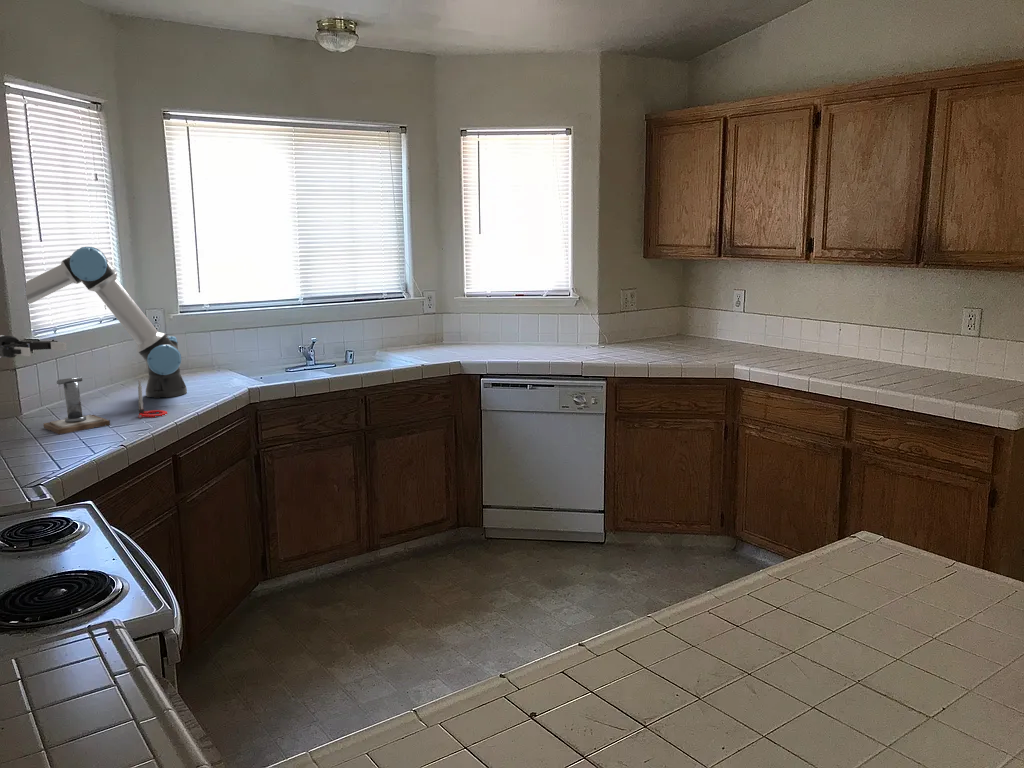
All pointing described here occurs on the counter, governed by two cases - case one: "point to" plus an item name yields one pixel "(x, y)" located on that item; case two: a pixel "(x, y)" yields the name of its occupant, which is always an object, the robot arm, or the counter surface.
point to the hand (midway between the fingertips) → (47, 349)
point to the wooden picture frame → (76, 424)
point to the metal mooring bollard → (72, 399)
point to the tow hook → (140, 403)
